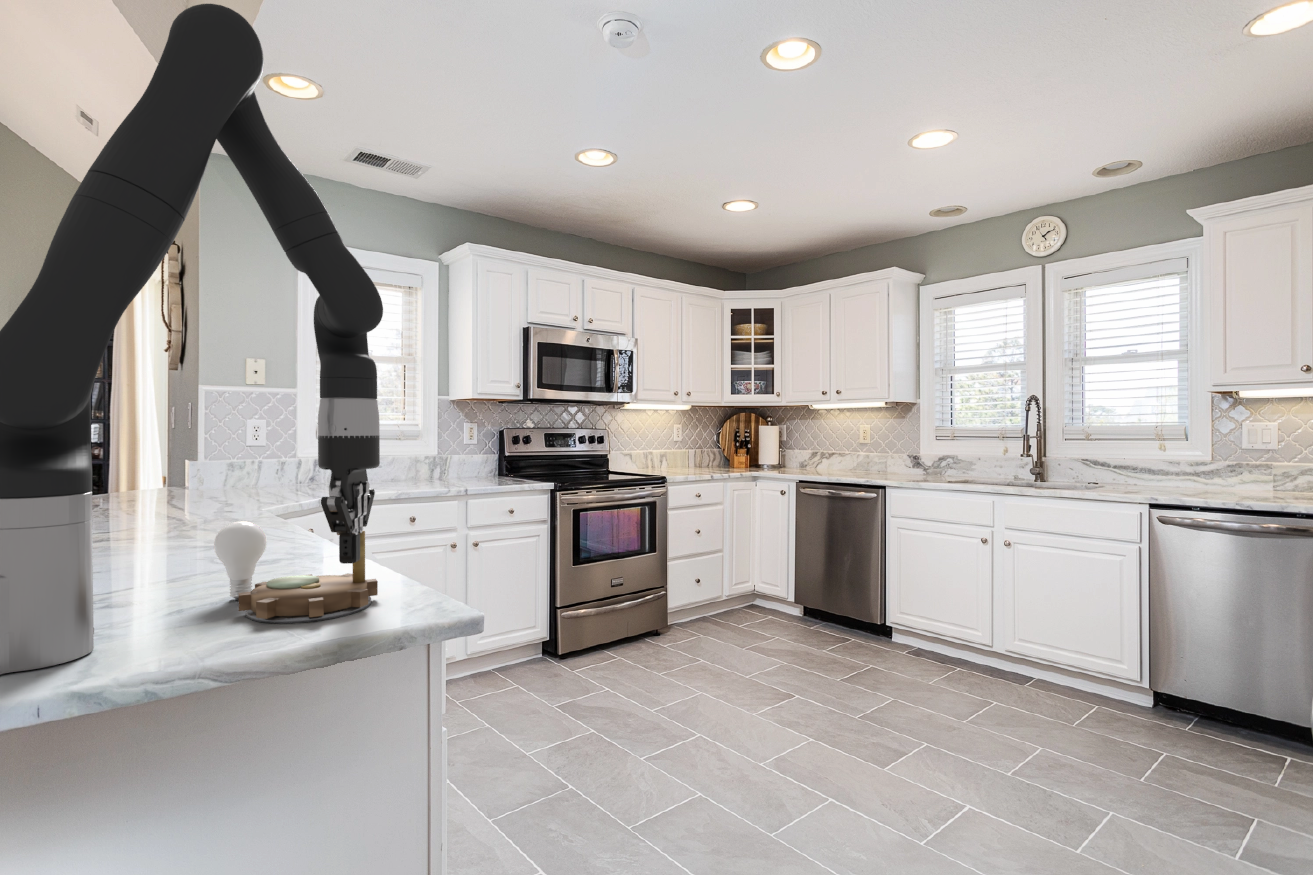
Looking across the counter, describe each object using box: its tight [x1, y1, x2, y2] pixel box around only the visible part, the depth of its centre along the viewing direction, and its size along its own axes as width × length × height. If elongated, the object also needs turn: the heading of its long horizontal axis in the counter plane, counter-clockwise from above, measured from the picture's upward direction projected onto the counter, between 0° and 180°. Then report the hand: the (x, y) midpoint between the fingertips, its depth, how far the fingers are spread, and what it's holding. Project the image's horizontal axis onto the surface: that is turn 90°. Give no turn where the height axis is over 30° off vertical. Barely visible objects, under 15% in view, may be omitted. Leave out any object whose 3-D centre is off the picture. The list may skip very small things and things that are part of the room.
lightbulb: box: [213, 520, 268, 601], centre depth 96 cm, size 6×6×11 cm
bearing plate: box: [245, 596, 372, 625], centre depth 92 cm, size 15×15×1 cm
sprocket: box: [238, 530, 379, 619], centre depth 92 cm, size 17×17×9 cm
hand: (350, 562), depth 92 cm, fingers closed
